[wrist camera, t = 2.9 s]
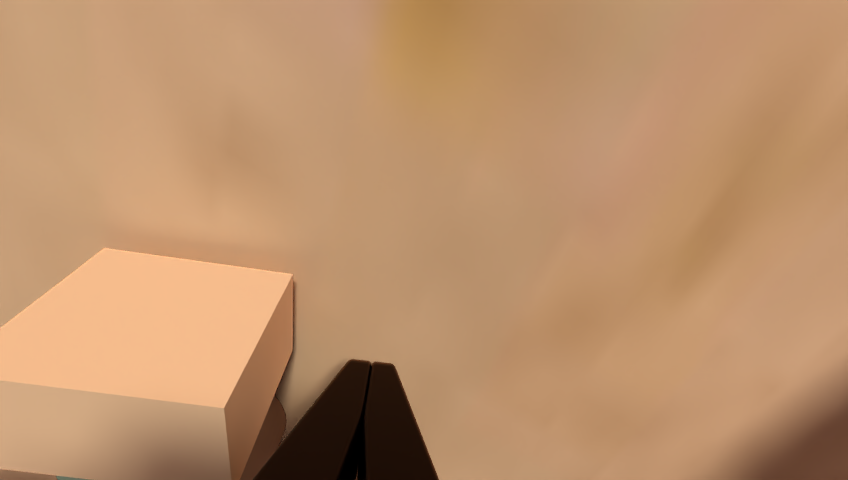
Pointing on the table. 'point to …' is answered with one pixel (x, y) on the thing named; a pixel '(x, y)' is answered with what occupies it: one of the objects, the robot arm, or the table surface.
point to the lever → (147, 371)
